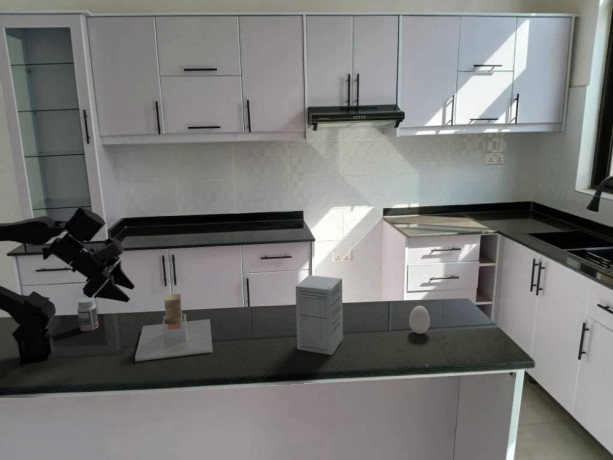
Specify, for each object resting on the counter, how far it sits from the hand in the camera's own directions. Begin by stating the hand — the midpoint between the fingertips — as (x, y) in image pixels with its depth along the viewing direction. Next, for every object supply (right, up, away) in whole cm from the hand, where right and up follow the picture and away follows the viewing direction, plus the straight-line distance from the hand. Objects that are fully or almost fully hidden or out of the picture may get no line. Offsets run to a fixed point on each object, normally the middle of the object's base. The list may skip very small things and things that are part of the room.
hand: (131, 294), depth 115 cm
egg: (+74, -12, +8) cm, 75 cm away
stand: (+10, -13, +5) cm, 17 cm away
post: (+10, -11, +5) cm, 16 cm away
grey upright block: (+47, -13, +2) cm, 49 cm away
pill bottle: (-17, -12, +14) cm, 25 cm away
